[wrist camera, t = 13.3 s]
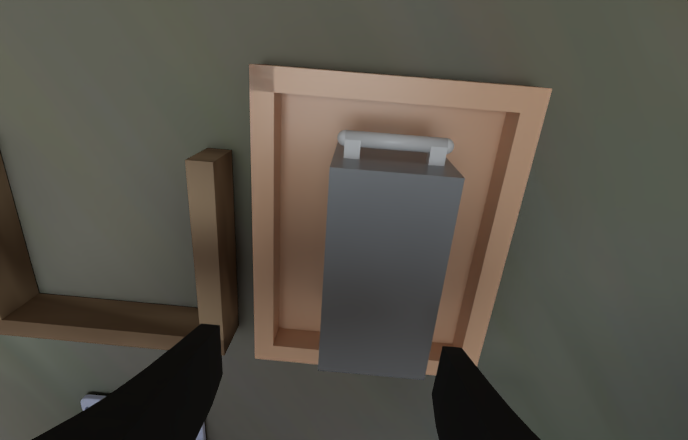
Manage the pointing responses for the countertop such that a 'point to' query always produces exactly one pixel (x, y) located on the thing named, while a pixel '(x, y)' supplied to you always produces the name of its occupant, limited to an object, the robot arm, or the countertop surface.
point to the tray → (313, 181)
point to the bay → (123, 316)
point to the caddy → (386, 251)
